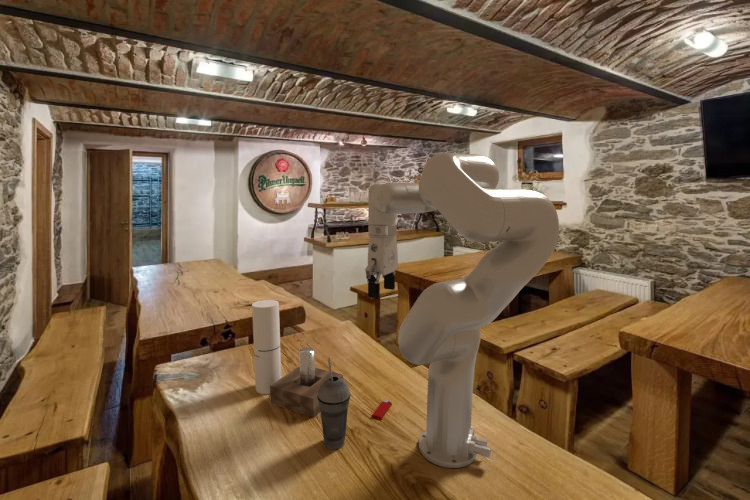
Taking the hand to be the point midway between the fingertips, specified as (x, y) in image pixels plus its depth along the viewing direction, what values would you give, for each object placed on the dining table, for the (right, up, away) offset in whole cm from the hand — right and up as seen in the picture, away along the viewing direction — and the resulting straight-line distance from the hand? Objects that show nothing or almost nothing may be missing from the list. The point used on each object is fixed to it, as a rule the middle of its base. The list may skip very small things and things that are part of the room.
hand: (381, 293), depth 104 cm
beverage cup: (-11, -32, -19) cm, 38 cm away
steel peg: (-20, -27, 0) cm, 34 cm away
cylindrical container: (-32, -28, +5) cm, 43 cm away
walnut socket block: (-20, -29, 0) cm, 35 cm away
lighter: (0, -30, -6) cm, 31 cm away
